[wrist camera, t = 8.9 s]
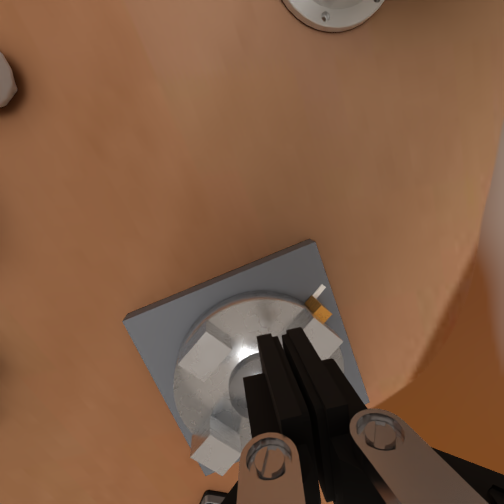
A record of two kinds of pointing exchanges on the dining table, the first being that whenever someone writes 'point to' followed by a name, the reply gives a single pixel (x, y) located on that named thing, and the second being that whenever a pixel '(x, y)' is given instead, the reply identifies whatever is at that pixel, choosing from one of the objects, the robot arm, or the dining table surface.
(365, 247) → the dining table surface
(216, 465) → the domed turntable base
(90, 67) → the dining table surface
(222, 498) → the external hard drive
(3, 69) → the salt shaker
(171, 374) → the housing plate
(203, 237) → the dining table surface
